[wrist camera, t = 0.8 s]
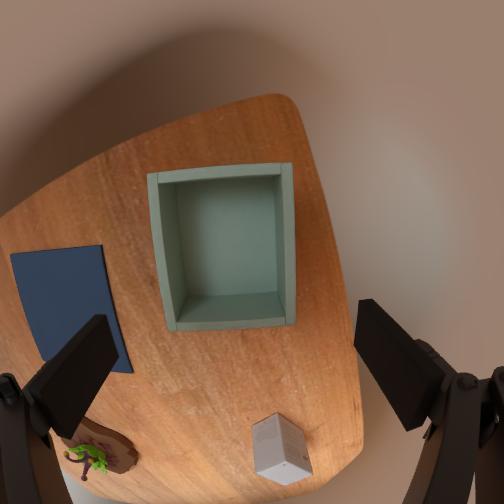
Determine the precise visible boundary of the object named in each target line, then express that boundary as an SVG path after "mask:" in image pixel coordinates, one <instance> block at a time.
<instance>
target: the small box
mask: <svg viewBox="0 0 504 504" xmlns="http://www.w3.org/2000/svg"><path fill="white" fill-rule="evenodd" d="M252 437H253V451H254V463H255V473H256V474H258V475H260V476H263V477H265V478H267V479H270V480H272V481H274V482H277V483H279V484H282V485H284V486H286V485H289V484H291V483H294V482H296V481H299V480H301V479H304V478H306V477H309V476H311V475H313V470H312V466H311V462H310V458H309V454H308V450H307V446H306V442H305V438H304V434H303V431H302V430H301V429H299V428H298V427H297V426H295V425H294V424H292V423H291V422H290V421H288V420H287V419H285V418H284V417H283V416H281V415H280V414H279V413H276V414H274V415H272V416H270V417H268V418H266V419H265V420H263V421H261V422H259V423H257V424H255V425H253V426H252Z"/></svg>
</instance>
